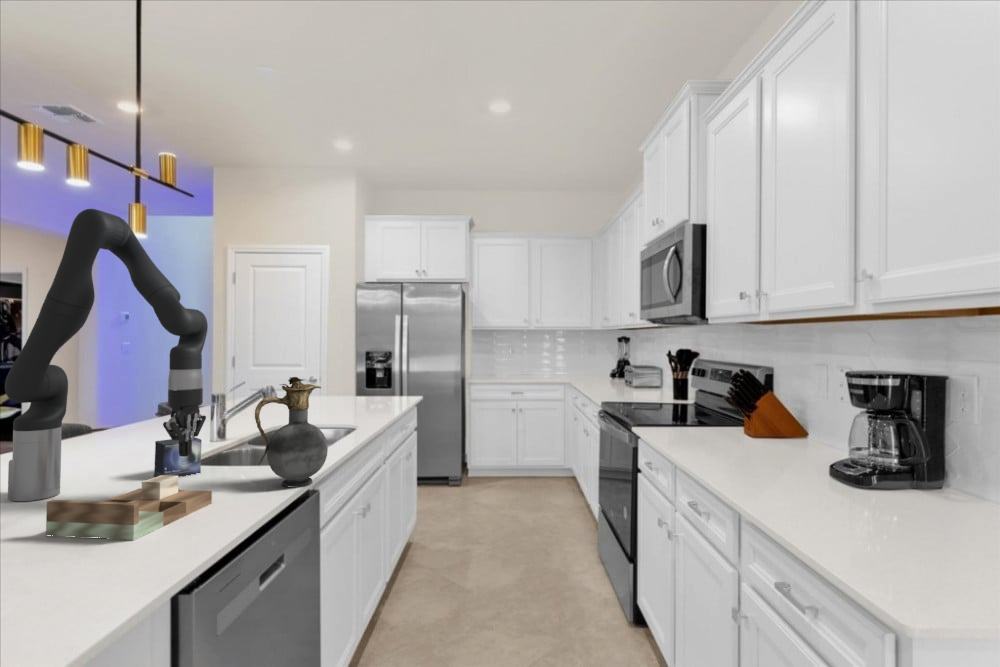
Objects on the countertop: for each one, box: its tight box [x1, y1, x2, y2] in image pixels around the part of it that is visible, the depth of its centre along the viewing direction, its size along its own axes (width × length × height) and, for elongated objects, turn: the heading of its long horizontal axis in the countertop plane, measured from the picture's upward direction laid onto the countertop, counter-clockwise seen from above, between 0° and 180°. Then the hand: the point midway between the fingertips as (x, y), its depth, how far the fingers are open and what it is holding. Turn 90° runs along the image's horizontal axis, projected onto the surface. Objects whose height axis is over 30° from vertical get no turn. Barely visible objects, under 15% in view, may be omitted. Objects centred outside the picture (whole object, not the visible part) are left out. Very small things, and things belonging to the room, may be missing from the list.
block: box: [141, 475, 180, 500], centre depth 123 cm, size 4×6×4 cm
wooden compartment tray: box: [45, 487, 213, 541], centre depth 116 cm, size 19×24×7 cm
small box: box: [153, 436, 203, 478], centre depth 153 cm, size 11×6×10 cm, turn 143°
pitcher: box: [254, 376, 329, 487], centre depth 144 cm, size 11×19×30 cm, turn 126°
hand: (185, 455), depth 131 cm, fingers closed
